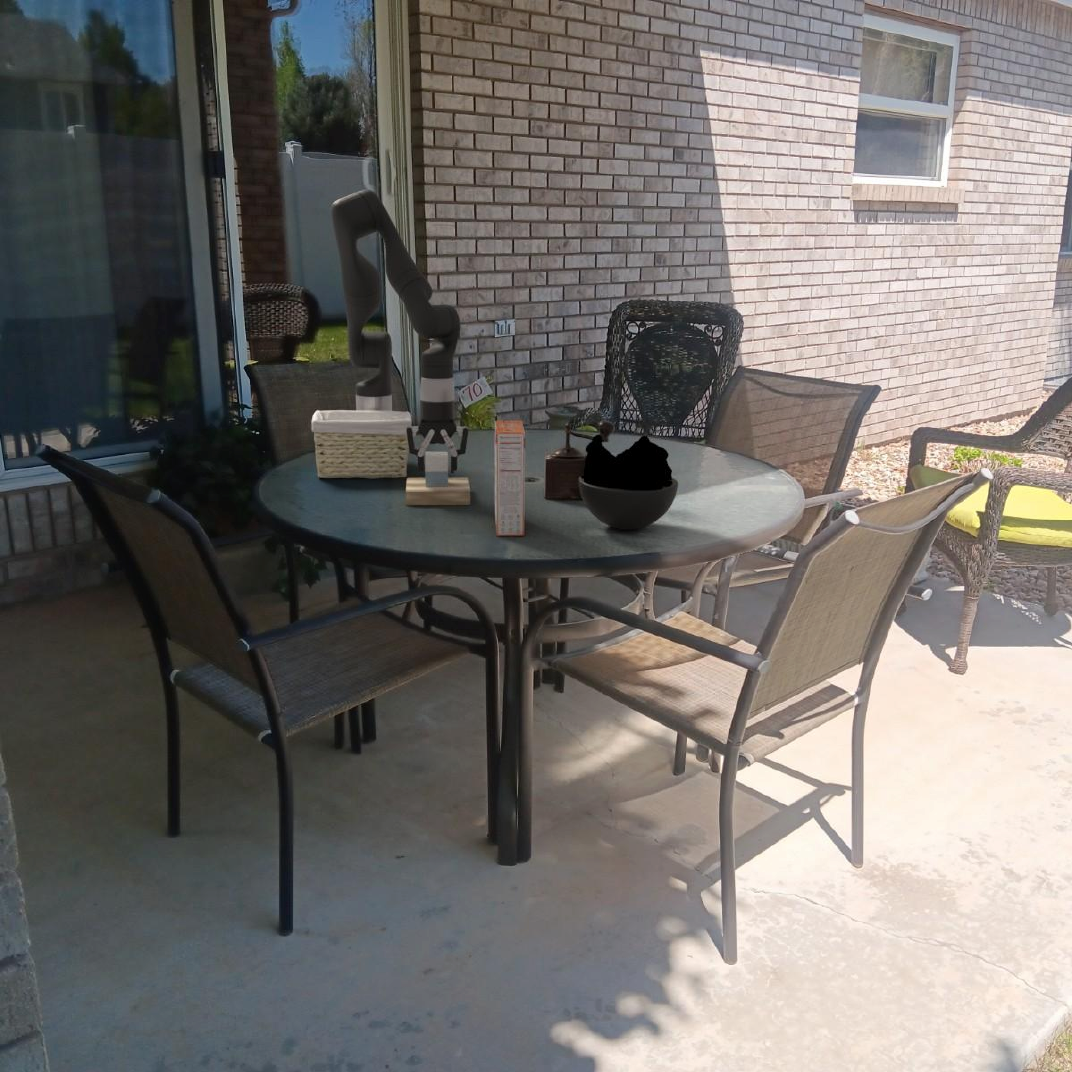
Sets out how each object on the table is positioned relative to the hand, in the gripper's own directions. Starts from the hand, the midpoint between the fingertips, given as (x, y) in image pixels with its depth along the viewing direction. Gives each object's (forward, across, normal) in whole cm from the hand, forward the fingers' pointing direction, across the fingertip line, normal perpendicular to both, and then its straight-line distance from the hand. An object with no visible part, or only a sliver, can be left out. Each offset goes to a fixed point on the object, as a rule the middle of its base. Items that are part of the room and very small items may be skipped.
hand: (437, 472), depth 229 cm
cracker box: (+6, +14, -26) cm, 30 cm away
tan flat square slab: (+6, 0, 0) cm, 6 cm away
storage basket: (+6, -18, +26) cm, 32 cm away
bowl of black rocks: (+6, +38, -27) cm, 47 cm away
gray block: (+3, 0, 0) cm, 3 cm away
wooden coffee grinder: (+6, +32, +2) cm, 33 cm away
